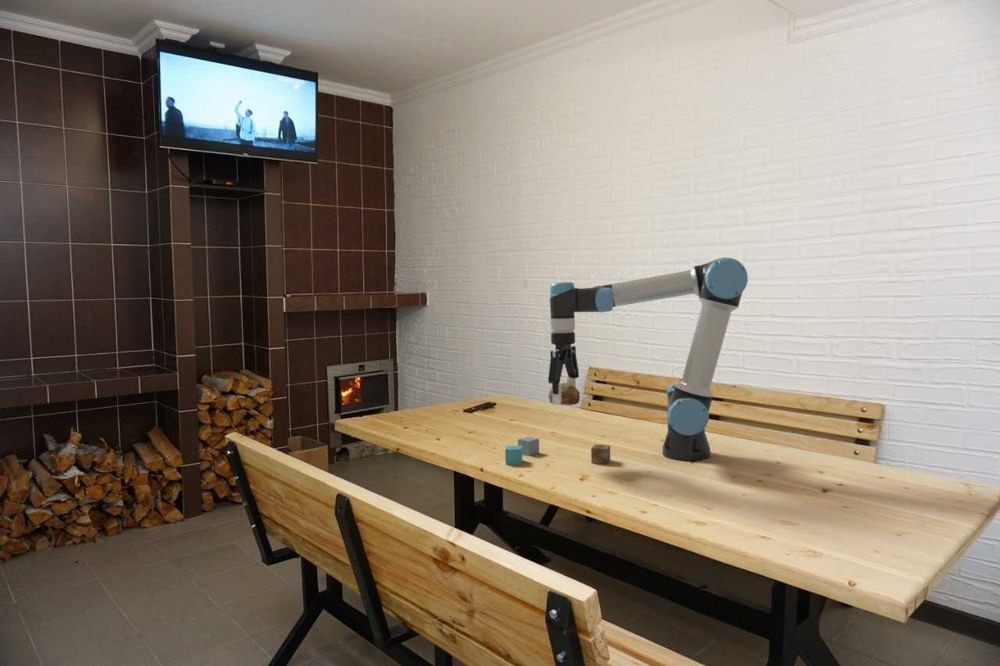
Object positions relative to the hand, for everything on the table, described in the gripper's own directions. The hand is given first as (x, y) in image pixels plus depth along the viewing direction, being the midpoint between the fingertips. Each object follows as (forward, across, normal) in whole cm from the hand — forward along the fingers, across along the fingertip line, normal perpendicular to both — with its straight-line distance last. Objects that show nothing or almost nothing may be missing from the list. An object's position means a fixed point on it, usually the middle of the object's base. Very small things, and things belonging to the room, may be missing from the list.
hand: (564, 401), depth 223 cm
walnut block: (+20, -5, +10) cm, 23 cm away
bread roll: (+1, 0, 0) cm, 1 cm away
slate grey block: (+20, -5, -16) cm, 26 cm away
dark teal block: (+20, +7, -15) cm, 26 cm away
